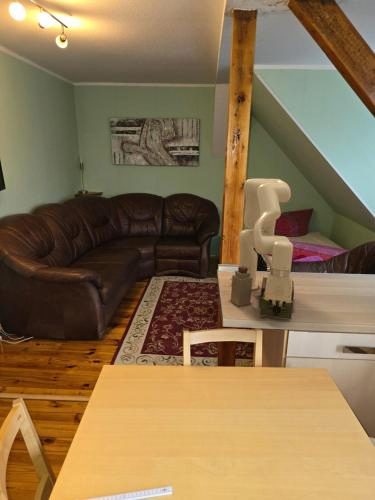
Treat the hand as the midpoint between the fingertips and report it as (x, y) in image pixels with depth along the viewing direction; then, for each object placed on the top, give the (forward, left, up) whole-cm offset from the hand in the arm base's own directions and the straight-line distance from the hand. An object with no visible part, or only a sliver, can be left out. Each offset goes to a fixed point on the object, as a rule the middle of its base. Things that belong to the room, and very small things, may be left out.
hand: (276, 313), depth 136 cm
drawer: (0, +13, -6) cm, 14 cm away
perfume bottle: (-17, +21, -7) cm, 28 cm away
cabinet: (0, +25, -7) cm, 26 cm away
